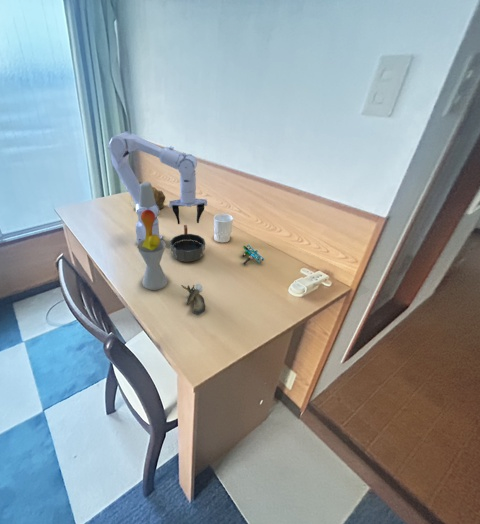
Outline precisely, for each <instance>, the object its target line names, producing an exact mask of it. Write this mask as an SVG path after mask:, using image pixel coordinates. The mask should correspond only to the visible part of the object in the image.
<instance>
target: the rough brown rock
mask: <svg viewBox="0 0 480 524" xmlns="http://www.w3.org/2000/svg"><path fill="white" fill-rule="evenodd" d="M138 182H139V183H140V184H141V183H142V181H140V180H138ZM152 190H153V194H154V198H155V202H156V205H157V206H158V208H159V210H160V209H163V208H164V203H165V200H166V196H165V194H164V192H163V190H159V189H157V188H156V187H155V186H152ZM128 194H129V201H130V205H131V207H132V208H133V209H135V210H136V204H135V202H134V200H133V199H132V197H131V195H130V193H129V192H128Z"/></svg>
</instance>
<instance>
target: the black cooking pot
mask: <svg viewBox="0 0 480 524" xmlns="http://www.w3.org/2000/svg"><path fill="white" fill-rule="evenodd" d="M169 245H170V246H169V247H170V252H171V253H172V257H174V259H176V260H177V261H180V262H184V263H185V262H194V261H195V262H196V261H197V260H200V259H201V258H202V257H203V256H204V252H205V250H206V241H205V238H204V237H202V236H200V235H199V234H194V233H188V225H187V224H183V233H182V234H181V233H180V234H179V235H175V236H174V237H172V238H171V240H170V241H169Z"/></svg>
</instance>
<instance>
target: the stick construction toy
mask: <svg viewBox="0 0 480 524" xmlns="http://www.w3.org/2000/svg"><path fill="white" fill-rule="evenodd" d="M242 248H243V249H244V251H245V252H244V253H243V254H242V256H241V257H242V258H244V257H246V256H247V255H248V258H247V259H246V260H245V261H244V262H243V263H242V265H244V266H245V265H247V263H248V262H249V261H251V260H253V258H254V260H255V261H256V262H258V264H262V261H264V260H265V258H264V257H262V255H260V254H259V251H258V249H254V248H252V246H251V245H250V244H247V245H243V246H242ZM259 260H261V261H259Z"/></svg>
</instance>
